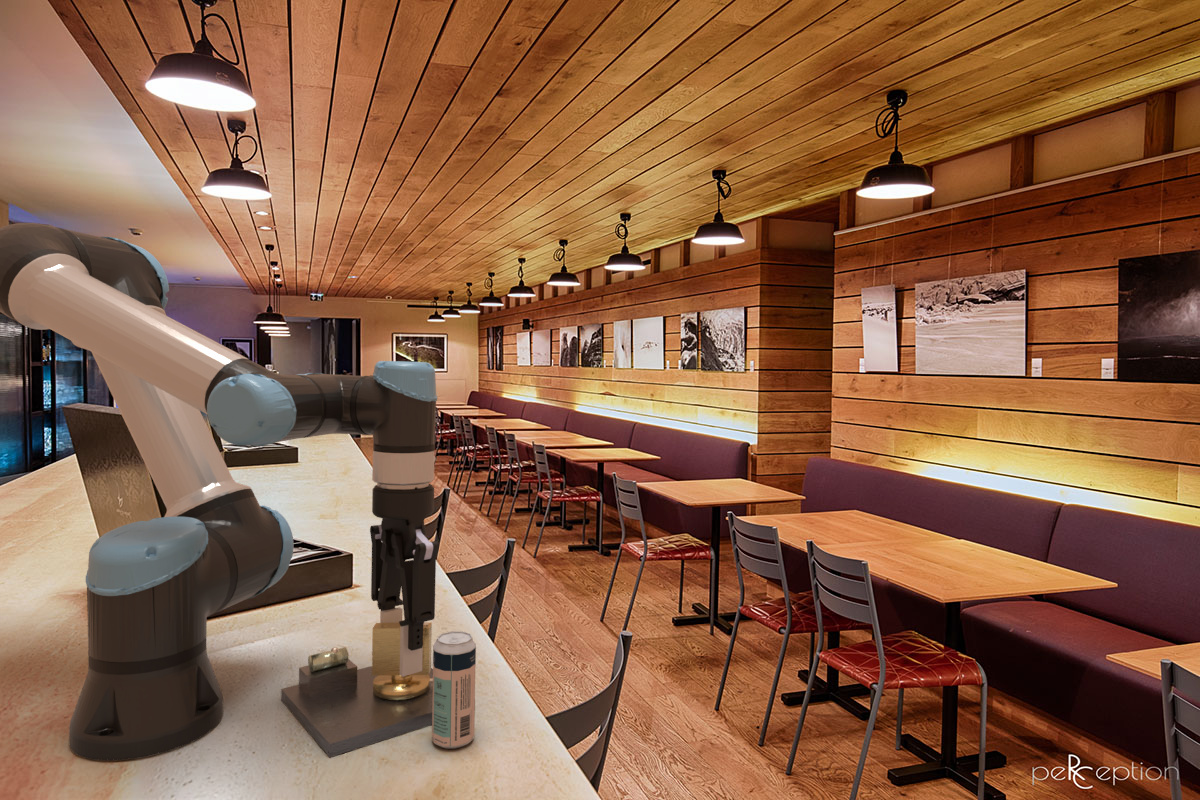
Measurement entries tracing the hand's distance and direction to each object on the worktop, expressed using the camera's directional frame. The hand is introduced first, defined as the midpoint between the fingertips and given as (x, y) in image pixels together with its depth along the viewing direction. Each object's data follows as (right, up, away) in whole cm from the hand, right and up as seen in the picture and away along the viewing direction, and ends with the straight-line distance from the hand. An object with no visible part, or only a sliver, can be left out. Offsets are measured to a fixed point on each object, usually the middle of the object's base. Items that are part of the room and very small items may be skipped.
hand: (400, 665), depth 93 cm
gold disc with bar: (0, -3, 0) cm, 3 cm away
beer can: (+9, -5, -9) cm, 14 cm away
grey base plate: (-3, -5, -1) cm, 5 cm away
